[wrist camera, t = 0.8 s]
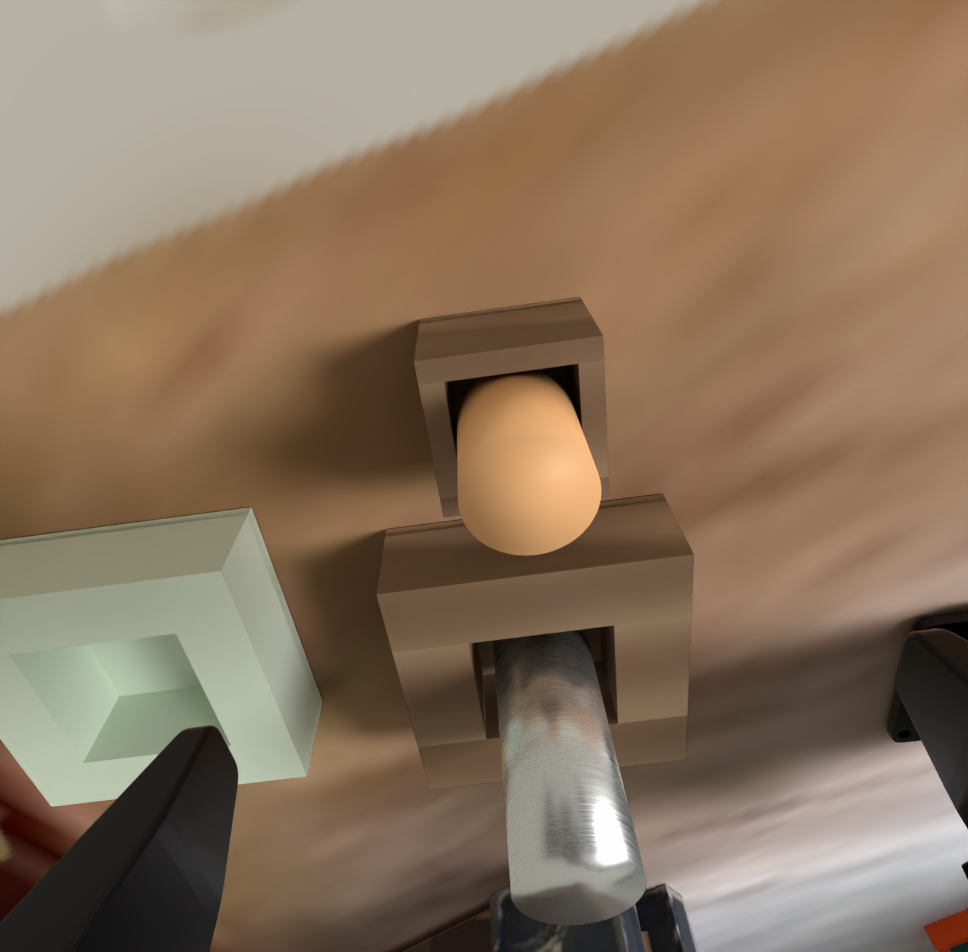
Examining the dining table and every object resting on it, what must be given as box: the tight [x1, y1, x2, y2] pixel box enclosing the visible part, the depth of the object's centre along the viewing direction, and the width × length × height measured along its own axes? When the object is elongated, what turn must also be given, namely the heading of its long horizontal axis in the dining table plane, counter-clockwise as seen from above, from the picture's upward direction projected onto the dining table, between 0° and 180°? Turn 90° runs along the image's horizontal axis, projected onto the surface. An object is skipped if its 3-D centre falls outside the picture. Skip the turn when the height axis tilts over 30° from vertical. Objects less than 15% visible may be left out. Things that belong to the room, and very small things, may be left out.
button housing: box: [414, 297, 609, 517], centre depth 18 cm, size 4×4×3 cm
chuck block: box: [376, 494, 694, 790], centre depth 22 cm, size 9×9×3 cm
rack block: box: [0, 507, 323, 807], centre depth 22 cm, size 9×9×3 cm
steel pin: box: [493, 629, 646, 925], centre depth 20 cm, size 3×3×9 cm
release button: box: [457, 370, 601, 556], centre depth 15 cm, size 3×3×4 cm
